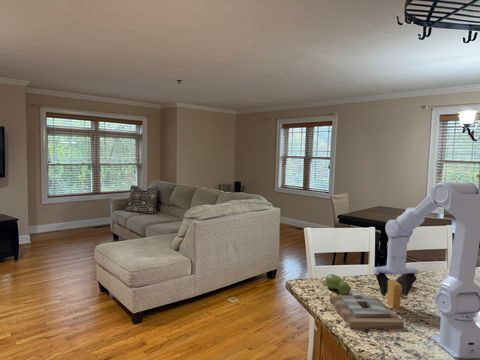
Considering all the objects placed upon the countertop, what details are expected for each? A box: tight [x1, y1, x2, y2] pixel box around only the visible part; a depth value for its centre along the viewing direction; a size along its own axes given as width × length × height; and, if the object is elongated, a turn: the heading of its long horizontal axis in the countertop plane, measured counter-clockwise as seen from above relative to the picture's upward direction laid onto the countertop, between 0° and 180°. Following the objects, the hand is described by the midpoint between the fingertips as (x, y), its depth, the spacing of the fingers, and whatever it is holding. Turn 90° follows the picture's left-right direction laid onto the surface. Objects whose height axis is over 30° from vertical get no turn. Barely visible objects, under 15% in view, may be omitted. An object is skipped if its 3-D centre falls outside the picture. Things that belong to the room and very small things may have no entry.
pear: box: [324, 273, 352, 295], centre depth 123 cm, size 6×5×10 cm
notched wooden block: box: [386, 279, 402, 309], centre depth 111 cm, size 5×2×8 cm, turn 3°
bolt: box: [386, 275, 402, 294], centre depth 126 cm, size 6×5×15 cm
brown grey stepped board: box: [329, 289, 405, 330], centre depth 104 cm, size 18×16×4 cm
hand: (393, 294), depth 111 cm, fingers open, 7 cm apart
